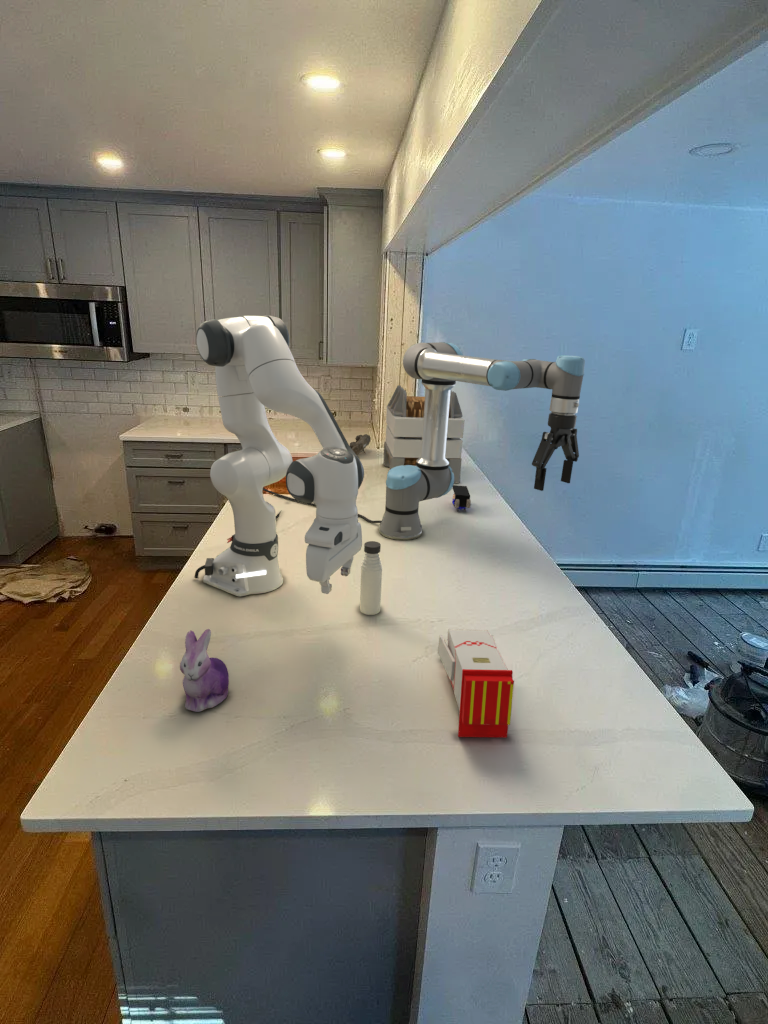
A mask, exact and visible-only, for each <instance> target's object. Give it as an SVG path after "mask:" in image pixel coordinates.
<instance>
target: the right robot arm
mask: <svg viewBox="0 0 768 1024" xmlns="http://www.w3.org/2000/svg"><path fill="white" fill-rule="evenodd" d="M585 365H586V360H585V358H584V357H582V356H578V355H566V354H565V355H564V354H563V355H558V356H557V357H556V360H555V361H549V360H541V359H536V358H524V359H521V360H506V359H505V360H504V359H503V360H502V359H496V358H487V357H479V356H471V355H464V354H463V352H462V350H461V349H460V347H459V346H457V345H456V344H455V343H451V342H445V341H443V342H442V341H441V342H440V341H439V342H438V341H437V342H417V343H414V344H412V345H411V346H409V347H408V348H407V350H406V351H405V353H404V355H403V358H402V366H403V369H404V372H405V373H406V374H407V375H408V376H409V377H411V378H412V379H415V380H421V385H422V386H423V387H424V389H425V392H424V397H425V404H424V419H423V434H422V449H421V457H420V458H418V459H417V461H416V466H413V465H401V466H396V467H394V468H392V469H390V468H389V470H388V472H387V474H386V479H385V504H384V505H385V507H384V508H385V509H384V513H383V515H382V519H381V520H372V519H369V518H368V517H366V516H365V515H363V514H360V513H358V518H361V519H362V520H365V521H366V522H368V523H371V524H379V527H378V533H379V534H380V535H381V536H382V537H385V538H387V539H389V540H395V541H410V540H415V539H418V538H420V537H421V536H422V535H423V525H422V524H421V518H420V515H419V507H420V506H419V505H420V502H423V501H427V500H431V499H437V498H440V497H443V496H446V495H448V493H450V492H451V490H453V485H455V483H454V473H452V469H451V467H450V466H449V462H448V461H447V459H446V458H445V453H446V441H447V428H448V416H449V404H450V392H451V391H452V389H453V388H454V387H455V386H456V384H457V382H461V383H465V384H473V385H479V386H487V387H491V388H492V389H494V390H496V391H503V392H504V391H511V390H520V389H532V388H533V389H534V388H539V389H546V390H551V398H550V404H549V413H548V418H547V419H548V420H547V426H548V427H549V428H550V431H549V432H548V431H543V432H542V435H541V440H540V442H539V445H538V447H537V449H536V452H535V454H534V457H533V460H532V461H531V466H533V467H535V475H534V477H535V478H534V485H533V489H534V490H537V491H539V492H543V491H544V489H545V484H546V483H545V482H546V476H547V468H546V466H547V465H548V463H549V461H550V459H551V457H552V456H553V454H554V453H555V451H556V450H557V449H558V448H560V447H561V449H562V452H563V455H564V458H565V459H563V463H562V468H561V469H562V470H561V475H560V482H562V483H566V484H571V478H572V472H573V466H574V463H576V462H578V461H579V457H580V453H579V444H578V428H576V423H577V419H578V416H577V414H578V412H579V411H578V410H579V406H580V397H581V391H582V385H583V380H584V376H585ZM262 491H263V492H267V493H269V494H271V495H274V496H277V497H280V498H283V499H286V500H290V501H293V502H297V503H300V504H303V505H308V506H312V507H316V505H315V504H314V503H303V502H300V501H298V500H296V499H295V498H293V497H290V496H287V495H283V494H280V493H277V492H274V491H272V490H269V489H267V488H265V487H263V490H262Z"/></svg>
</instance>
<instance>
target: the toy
mask: <svg viewBox="0 0 768 1024" xmlns="http://www.w3.org/2000/svg"><path fill="white" fill-rule="evenodd" d="M446 640H447V643H446V641H445V639H444V636H443V635H442V634H439V637H438V646H437V656H438V657H439V659H440V661H441V663H442V666H443V668H444V670H445V672H446V674H447V677H448V679H449V681H450V684H451V687H452V690H453V693H454V697H455V701H456V705H457V708H458V711H459V714H458V715H459V716H458V730H457V731H458V732H457V737H458V738H508V731H509V726H510V725H511V717H512V707H513V697H514V696H513V695H514V684H515V680H514V679H513V673H514V671H513V670H512V669H508V667H507V665H506V662H505V661H504V659H503V658H502V655H501V653H500V651H499V649H498V647H497V643H496V639H495V637H494V635H493V634H491V632H490V631H489V629H467V628H466V629H465V628H463V629H461V628H460V629H459V628H448V630H447V639H446Z"/></svg>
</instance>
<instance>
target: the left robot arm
mask: <svg viewBox="0 0 768 1024" xmlns="http://www.w3.org/2000/svg"><path fill="white" fill-rule="evenodd" d="M195 337H196V339H195V340H196V347H197V351H198V354H199V356H200V358H201V359H202V360H203V361H204V362H205V363H206V364H207V365H209V366H213V367H214V370H215V373H214V374H215V386H216V393H217V397H218V398H217V399H218V404H219V408H220V409H219V410H220V414H221V420H222V425H223V427H224V428H225V430H226V431H228V432H229V433H231V434H234V435H235V436H236V438H237V439H238V441H239V443H240V446H241V448H242V449H240V450H236V451H232V452H228V453H226V454H224V455H223V456H221V457H220V458H218V459H216V460H215V461H214V462H213V463H212V464H211V467H210V471H209V477H210V481H211V484H212V486H213V488H214V489H215V490H216V491H217V493H220V494H221V495H223V496H224V497H225V498H226V499H227V500H228V502H229V504H230V506H231V510H232V514H233V521H234V534H231V536H230V537H229V538H227V539H226V541H227V542H226V544H229V543H230V542H231V543H230V546H229V547H227V548H226V549H225V550H223V551H221V552H220V553H219V554H217V555H216V556H215V557H207V558H206V560H205V562H204V563H205V564H203V565H201V566H199V567H198V568H197V569H196V571H195V573H194V578H195V579H199V575H200V572H201V571H203V570H204V576H203V578H202V582H203V583H204V584H207V585H209V586H211V587H213V588H217V589H219V590H222V591H223V592H226V593H228V594H231V595H234V596H236V597H245V596H248V595H258V594H264V593H269V592H272V591H275V590H276V589H278V588H280V587H281V586H282V585H283V583H284V578H283V575H282V572H281V568H280V563H279V562H280V561H279V556H278V555H279V536H278V533H277V519H276V516H277V512H276V509H275V507H274V506H273V504H272V503H270V502H269V501H266V500H265V497H264V494H263V491H264V490H263V488H265V487H267V486H269V485H272V484H275V483H277V482H279V481H281V480H282V479H284V478H285V486H286V490H287V492H288V494H289V495H290V496H291V498H294V499H296V500H298V501H300V502H303V503H302V504H304V503H314V504H315V505H316V506H315V507H316V508H315V518H314V519H313V522H312V524H311V526H310V527H309V529H308V530H306V532H305V534H304V543H305V544H308V545H307V546H306V551H305V568H306V577H307V578H308V579H309V580H310V581H312V582H317V583H319V584H320V592H321V593H322V594H324V595H328V594H330V593H331V592H332V590H333V584H332V583H330V580H331V576H332V575H334V574H335V573H336V572H337V571H338V570H340V575H341V576H343V577H348V576H349V575H350V574H351V567H352V565H353V561H354V556H356V554H358V553H359V552H360V551H361V550H362V546H363V531H362V524H361V522H359V516H358V514H359V512H358V506H357V498H358V495H359V489H360V488H361V486H362V485H363V482H364V478H365V469H364V466H363V465H364V464H363V463H362V460H361V459H360V458H359V456H358V454H357V455H356V454H355V453H354V451H353V450H352V449H351V447H350V443H348V441H347V439H346V437H345V435H344V433H343V431H342V429H341V428H340V426H339V424H338V422H337V421H336V419H335V417H334V415H333V413H332V410H331V409H330V407H329V406H328V404H327V402H326V401H325V398H324V397H323V396H322V394H321V393H320V392H319V391H318V390H316V389H315V388H313V387H312V386H311V385H310V383H309V382H308V381H307V380H306V379H305V378H304V376H303V375H302V373H301V372H300V370H299V367H298V365H297V363H296V360H295V358H294V355H293V353H292V351H291V349H290V334H289V330H288V328H287V325H286V324H285V322H284V321H283V319H281V318H280V317H277V316H274V315H268V314H267V315H239V316H235V317H234V316H233V317H225V318H220V319H216V318H212V319H209V320H205V321H203V322H201V323H200V324H199V326H198V328H197V330H196V336H195ZM266 408H268V409H269V410H271V411H273V412H276V413H280V414H284V415H287V416H288V415H289V416H292V417H295V418H297V419H299V420H302V421H303V422H305V423H306V424H308V425H309V426H310V428H311V429H312V430H313V432H314V434H315V436H316V438H317V440H318V442H319V444H320V445H321V447H322V449H321V450H319V451H318V452H317V453H316V454H314V455H311V456H308V457H303V458H302V457H301V458H299V459H296V460H293V456H292V454H291V451H290V450H289V449H288V448H287V446H285V445H284V444H282V443H281V442H280V441H279V439H277V437H276V435H275V434H274V432H273V430H272V428H271V425H270V423H269V420H268V416H267V412H266ZM300 502H299V503H300Z"/></svg>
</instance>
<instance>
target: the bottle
mask: <svg viewBox="0 0 768 1024" xmlns="http://www.w3.org/2000/svg"><path fill="white" fill-rule="evenodd" d="M364 555H365V556H364V557H363V559H362V562H361V566H360V586H359V587H360V590H359V611H360V613H362V614H363V615H367V616H373V615H377V614H379V613H380V612H381V602H382V581H383V580H382V579H383V578H382V577H383V564H382V560H381V557H380V553H377V554H368V553H366V552H365V554H364Z"/></svg>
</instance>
